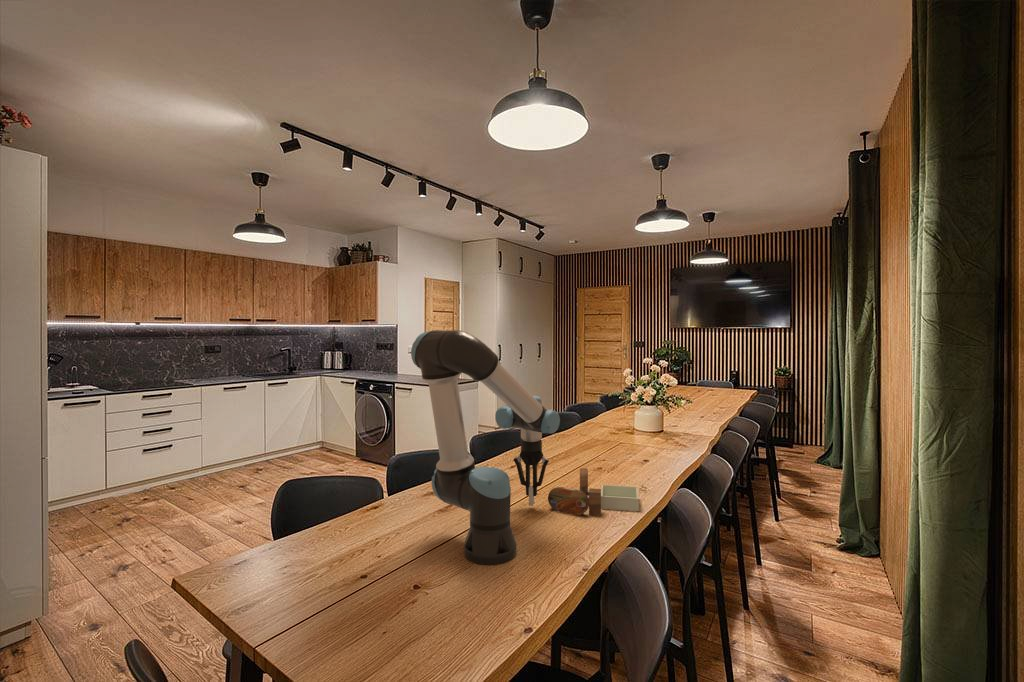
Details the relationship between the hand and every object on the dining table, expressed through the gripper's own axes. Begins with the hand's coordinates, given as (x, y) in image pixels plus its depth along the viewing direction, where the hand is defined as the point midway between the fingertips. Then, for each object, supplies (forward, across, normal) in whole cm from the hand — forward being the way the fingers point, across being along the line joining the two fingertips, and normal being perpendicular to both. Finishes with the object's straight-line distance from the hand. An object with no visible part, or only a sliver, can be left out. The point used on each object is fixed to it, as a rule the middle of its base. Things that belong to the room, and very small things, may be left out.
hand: (531, 504), depth 171 cm
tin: (+2, -13, 0) cm, 13 cm away
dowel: (+2, -18, -12) cm, 21 cm away
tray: (+1, -31, -12) cm, 33 cm away
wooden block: (+2, -22, -1) cm, 23 cm away
